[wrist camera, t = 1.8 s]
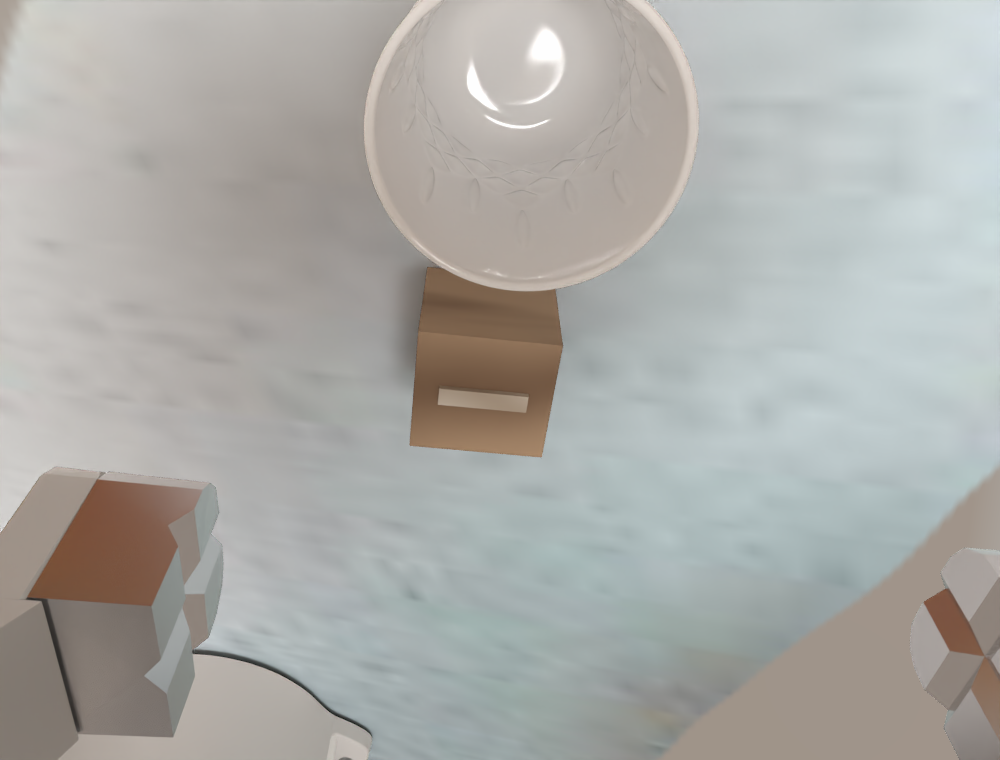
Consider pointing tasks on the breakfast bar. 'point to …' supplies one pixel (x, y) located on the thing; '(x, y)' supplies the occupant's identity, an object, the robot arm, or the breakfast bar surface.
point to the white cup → (531, 135)
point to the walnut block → (484, 367)
